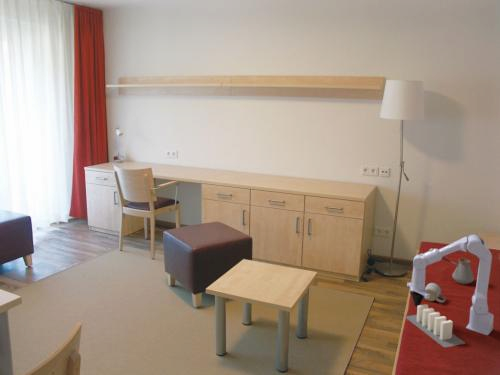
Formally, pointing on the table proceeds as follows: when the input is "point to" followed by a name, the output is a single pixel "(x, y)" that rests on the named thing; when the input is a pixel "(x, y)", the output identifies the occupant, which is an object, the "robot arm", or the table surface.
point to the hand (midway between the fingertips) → (417, 305)
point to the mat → (444, 343)
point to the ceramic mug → (434, 292)
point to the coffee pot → (462, 271)
